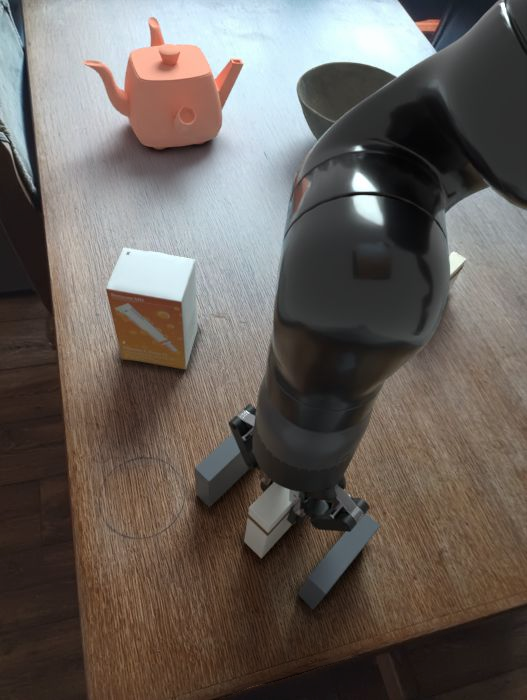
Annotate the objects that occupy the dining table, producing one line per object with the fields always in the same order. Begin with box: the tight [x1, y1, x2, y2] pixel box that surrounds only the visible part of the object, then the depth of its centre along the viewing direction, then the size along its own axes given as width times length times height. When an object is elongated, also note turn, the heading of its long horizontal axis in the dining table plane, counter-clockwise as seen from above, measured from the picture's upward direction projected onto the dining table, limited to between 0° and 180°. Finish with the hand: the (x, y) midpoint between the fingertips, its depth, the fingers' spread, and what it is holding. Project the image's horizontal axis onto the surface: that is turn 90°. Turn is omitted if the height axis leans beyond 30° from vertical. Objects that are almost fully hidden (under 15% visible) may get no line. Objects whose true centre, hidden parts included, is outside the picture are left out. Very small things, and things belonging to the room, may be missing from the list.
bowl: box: [296, 61, 398, 142], centre depth 90 cm, size 19×19×10 cm
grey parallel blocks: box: [194, 432, 381, 610], centre depth 53 cm, size 16×8×7 cm, turn 47°
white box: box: [243, 482, 293, 559], centre depth 51 cm, size 2×8×10 cm, turn 137°
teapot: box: [82, 16, 244, 150], centre depth 87 cm, size 18×18×14 cm
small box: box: [105, 247, 198, 370], centre depth 62 cm, size 8×6×13 cm
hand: (284, 503), depth 51 cm, fingers closed on white box, 2 cm apart
